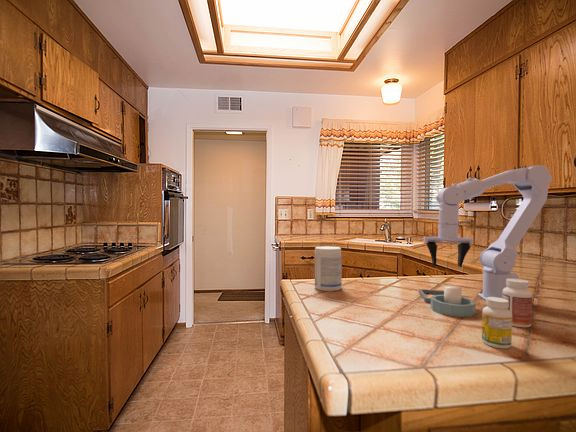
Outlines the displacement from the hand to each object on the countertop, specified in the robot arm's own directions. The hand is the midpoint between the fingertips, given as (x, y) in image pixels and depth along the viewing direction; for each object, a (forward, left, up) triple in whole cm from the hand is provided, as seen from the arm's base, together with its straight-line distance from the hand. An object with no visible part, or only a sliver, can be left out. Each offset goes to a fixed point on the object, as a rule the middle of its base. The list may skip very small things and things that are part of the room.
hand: (446, 265), depth 105 cm
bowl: (+2, +14, -10) cm, 18 cm away
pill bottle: (-11, +22, -11) cm, 27 cm away
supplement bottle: (-1, +37, -11) cm, 39 cm away
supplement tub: (+39, -1, -11) cm, 40 cm away
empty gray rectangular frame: (+2, +2, -10) cm, 11 cm away
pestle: (+2, +14, -10) cm, 18 cm away
